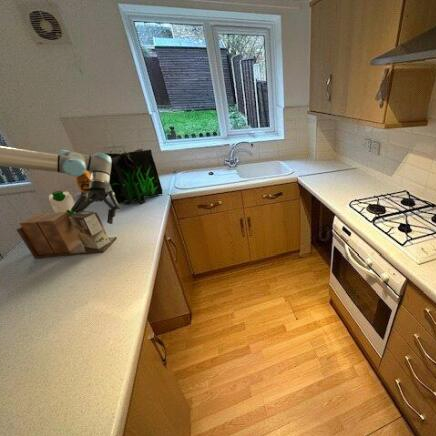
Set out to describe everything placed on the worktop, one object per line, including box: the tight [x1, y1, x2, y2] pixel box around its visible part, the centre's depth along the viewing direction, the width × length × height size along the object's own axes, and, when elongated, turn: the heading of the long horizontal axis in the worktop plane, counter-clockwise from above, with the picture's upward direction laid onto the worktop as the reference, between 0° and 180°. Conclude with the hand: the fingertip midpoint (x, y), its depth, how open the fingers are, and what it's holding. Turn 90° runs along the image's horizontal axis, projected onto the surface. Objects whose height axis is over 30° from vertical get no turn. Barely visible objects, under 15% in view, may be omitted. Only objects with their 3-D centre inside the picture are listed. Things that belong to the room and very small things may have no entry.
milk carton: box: [48, 190, 76, 216], centre depth 128 cm, size 9×9×20 cm
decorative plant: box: [105, 148, 164, 206], centre depth 162 cm, size 29×30×30 cm
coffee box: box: [69, 210, 110, 249], centre depth 109 cm, size 9×6×16 cm
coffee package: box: [75, 170, 91, 194], centre depth 167 cm, size 10×12×22 cm
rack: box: [16, 211, 117, 260], centre depth 108 cm, size 28×12×17 cm, turn 99°
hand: (94, 224), depth 112 cm, fingers open, 13 cm apart
